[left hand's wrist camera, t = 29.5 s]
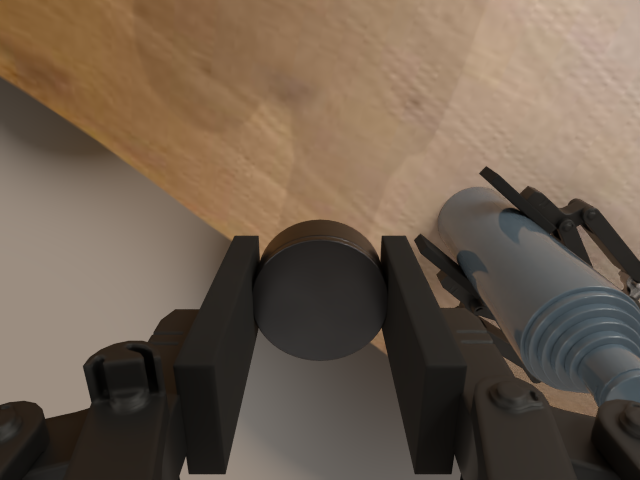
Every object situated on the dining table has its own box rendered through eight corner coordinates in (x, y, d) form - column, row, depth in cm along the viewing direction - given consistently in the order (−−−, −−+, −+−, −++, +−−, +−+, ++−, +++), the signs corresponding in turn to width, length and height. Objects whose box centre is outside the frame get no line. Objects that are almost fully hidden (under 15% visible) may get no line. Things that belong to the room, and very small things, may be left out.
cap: (376, 211, 14) (384, 231, 12) (386, 323, 15) (393, 353, 14) (247, 227, 14) (238, 248, 12) (269, 335, 16) (263, 367, 14)
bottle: (444, 260, 44) (568, 467, 22) (431, 197, 42) (556, 358, 20) (512, 243, 43) (711, 439, 21) (504, 178, 41) (717, 323, 19)
